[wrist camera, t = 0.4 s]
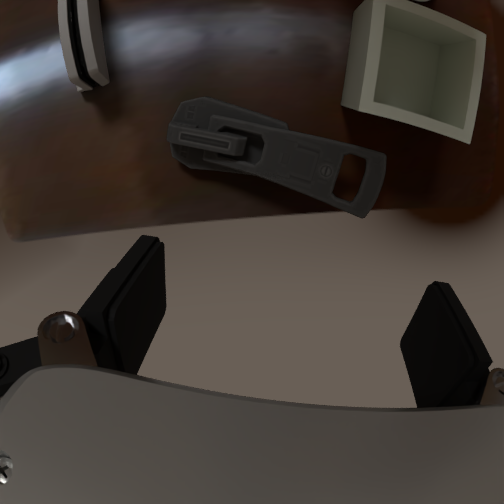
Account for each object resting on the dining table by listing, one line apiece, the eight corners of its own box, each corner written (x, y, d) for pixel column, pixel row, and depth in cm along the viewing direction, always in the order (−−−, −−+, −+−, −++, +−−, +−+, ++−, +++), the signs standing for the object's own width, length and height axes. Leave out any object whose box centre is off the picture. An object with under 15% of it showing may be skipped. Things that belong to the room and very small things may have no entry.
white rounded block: (68, -4, 28) (47, -26, 20) (99, -15, 29) (83, -40, 20) (81, 94, 36) (58, 92, 27) (112, 84, 37) (96, 79, 28)
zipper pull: (368, 226, 35) (151, 172, 34) (357, 205, 40) (170, 159, 40) (395, 152, 30) (162, 94, 30) (378, 141, 36) (181, 92, 36)
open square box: (353, 12, 28) (374, -10, 20) (445, 41, 28) (486, 34, 19) (340, 105, 34) (358, 110, 26) (431, 129, 34) (470, 144, 25)
